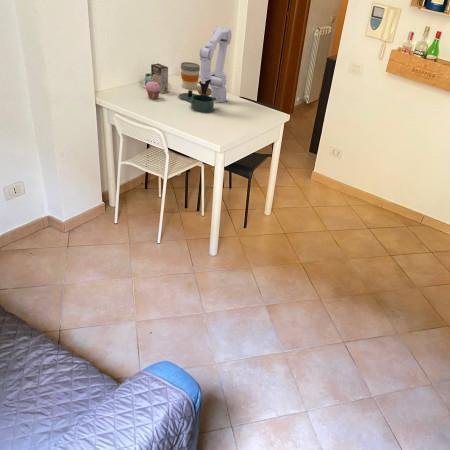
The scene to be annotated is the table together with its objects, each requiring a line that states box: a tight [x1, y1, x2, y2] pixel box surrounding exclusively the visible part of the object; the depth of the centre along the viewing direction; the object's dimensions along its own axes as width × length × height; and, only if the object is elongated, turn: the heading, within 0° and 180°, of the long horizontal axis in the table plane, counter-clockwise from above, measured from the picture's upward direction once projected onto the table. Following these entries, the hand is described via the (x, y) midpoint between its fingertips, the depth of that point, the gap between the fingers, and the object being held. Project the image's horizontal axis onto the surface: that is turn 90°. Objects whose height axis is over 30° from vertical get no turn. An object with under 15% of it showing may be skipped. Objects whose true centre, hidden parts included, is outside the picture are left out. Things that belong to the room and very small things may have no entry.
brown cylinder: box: [197, 86, 212, 97], centre depth 259 cm, size 8×5×5 cm, turn 91°
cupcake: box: [145, 81, 161, 100], centre depth 264 cm, size 9×9×10 cm
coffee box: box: [150, 63, 169, 94], centre depth 275 cm, size 9×6×16 cm
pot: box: [187, 94, 216, 113], centre depth 263 cm, size 13×19×6 cm
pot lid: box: [178, 89, 198, 102], centre depth 276 cm, size 14×14×5 cm
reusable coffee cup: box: [180, 61, 201, 90], centre depth 293 cm, size 13×13×15 cm
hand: (204, 92), depth 259 cm, fingers closed on brown cylinder, 4 cm apart
